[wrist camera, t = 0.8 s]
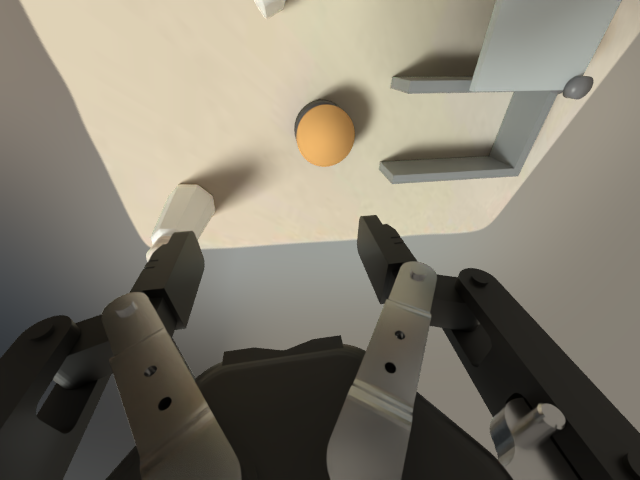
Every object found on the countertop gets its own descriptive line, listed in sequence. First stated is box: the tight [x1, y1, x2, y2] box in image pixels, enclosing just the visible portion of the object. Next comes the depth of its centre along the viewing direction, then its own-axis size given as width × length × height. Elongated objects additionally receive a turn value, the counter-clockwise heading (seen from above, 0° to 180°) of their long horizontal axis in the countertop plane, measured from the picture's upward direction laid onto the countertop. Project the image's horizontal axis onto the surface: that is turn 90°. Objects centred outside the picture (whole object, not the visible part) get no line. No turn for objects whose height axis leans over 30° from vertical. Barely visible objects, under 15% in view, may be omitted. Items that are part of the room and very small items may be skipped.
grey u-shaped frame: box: [379, 76, 563, 184], centre depth 29 cm, size 10×16×5 cm, turn 90°
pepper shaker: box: [146, 184, 215, 262], centre depth 27 cm, size 5×5×11 cm
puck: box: [295, 100, 355, 167], centre depth 28 cm, size 6×6×4 cm
